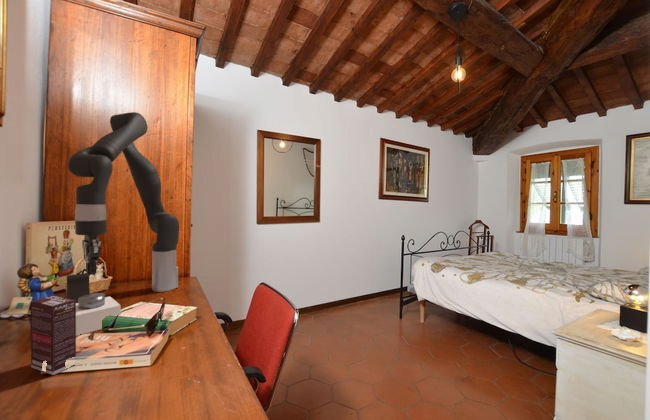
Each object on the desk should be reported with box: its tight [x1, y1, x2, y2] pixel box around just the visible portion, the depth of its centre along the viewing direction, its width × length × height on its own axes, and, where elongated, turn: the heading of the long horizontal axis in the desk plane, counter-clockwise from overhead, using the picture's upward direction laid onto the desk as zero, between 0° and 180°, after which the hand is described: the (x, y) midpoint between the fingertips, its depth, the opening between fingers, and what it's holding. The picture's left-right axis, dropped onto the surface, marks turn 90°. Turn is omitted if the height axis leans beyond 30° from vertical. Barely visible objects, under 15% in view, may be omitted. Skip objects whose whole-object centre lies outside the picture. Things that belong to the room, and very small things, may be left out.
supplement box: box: [30, 295, 77, 376], centre depth 66 cm, size 9×5×16 cm, turn 71°
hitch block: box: [76, 296, 122, 337], centre depth 88 cm, size 12×12×6 cm
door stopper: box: [66, 272, 91, 303], centre depth 102 cm, size 9×6×12 cm, turn 45°
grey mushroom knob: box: [78, 292, 106, 310], centre depth 88 cm, size 6×6×8 cm
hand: (91, 274), depth 88 cm, fingers closed
